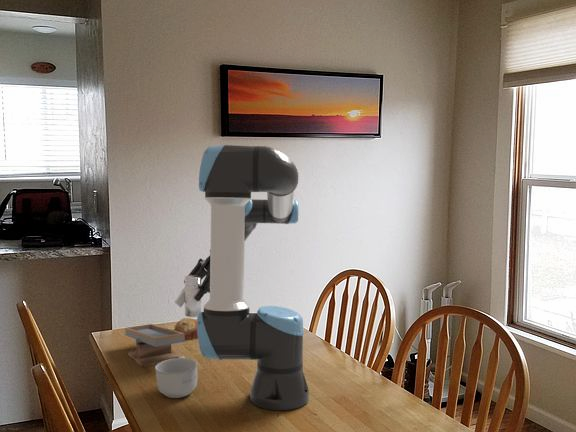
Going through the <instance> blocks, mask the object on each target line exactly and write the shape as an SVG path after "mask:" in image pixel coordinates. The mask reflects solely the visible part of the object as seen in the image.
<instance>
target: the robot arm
mask: <svg viewBox="0 0 576 432" xmlns="http://www.w3.org/2000/svg"><path fill="white" fill-rule="evenodd" d="M199 167H200V168H199V173H198V189H199V191H200V192H202V193H204V199H205V200H206V201H207V202H208V204H209V205H210V249H209V256H207V257H206V258H205V259H202V258H199V259H198V261H197V263H196V264H195V266H194V268H193V269H192V270H191V271H190V273H189V274H188V275H187V276H191V275H196V276H201V281H202V280H203V281H202V282H201V286H199V288H200V289H198V288H197V289H196V291H195V292H194V294H193V295H192V296H191V298H190V299H189V300H188V302H187V303H186V304H185V287H184V288H183V289H182V291H180V293H179V295H178V296H177V298H176V299H175V301H174V303H175V304H176V305H177V306H178V307H179V308H182V307H183V305H184V307H185V306H186V307H187V308H188V309H189V310H190V311H192V310H193V308H194V307H195V305H196V304H197V303H198V301H200V299H201V300H202V298H203V297H204V296H205V294H207V293H209V299H208V301H207V302H206V303H204V305H203V311H201V313H199V314H198V316H197V317H196V320H197V334H198V338H197V342H198V345H199V346H198V347H199V350H200V351H199V352H200V353H201V355H202V357H204V358H206V359H210V360H211V359H212V360H218V361H223V360H245V361H246V360H248V361H249V360H250V361H252V360H253V361H255V360H256V362H257V365H256V368H257V369H256V372H255V375H254V378H253V381H252V385H251V386H250V389H249V390H250V391H249V394H250V395H249V400H250V402H251V403H252V404H253V405H254V406H256V407H258V408H261V409H265V410H270V411H290V410H297V409H299V408H302V407H303V406H305V405H306V404H308V402H309V400H310V391H309V387H308V383H307V380H306V377H305V374H304V369H303V364H304V362H303V361H304V359H303V357H304V355H303V354H304V353H303V352H304V335H305V331H304V320H303V317H302V315H301V314H300V313H299V312H298V311H296V310H293V309H290V308H286V307H283V306H278V305H276V306H275V305H268V306H260V307H259V308H258V309H257V310H256V312H254V313H252V312H250V304H248V303H247V302H246V301H245V299H244V295H245V292H244V291H245V289H244V288H245V287H244V286H245V242H246V240H247V239H248V238H249V236H250V235H251V234H252V232H253V231H254V230H255V229H256V227H257V226H258V224H280V225H281V224H282V225H289V224H291V225H292V224H297V223H298V221H299V201H298V200H296V199H295V200H294V193H295V190H296V188H297V187H298V184H299V172H298V168H297V166H296V165H295V163H294V161H292V159H291V158H290V157H289V156H288V155H286V154H285V153H284V152H281V150H280V151H279V150H278V149H276V148H273V147H271V146H266V145H234V144H233V145H232V144H231V145H230V144H228V145H227V144H221V145H209V146H208V147H206V148H205V149H204V152H203V154H202V158H201V161H200V166H199ZM252 193H266V195H267V199H257V198H256V199H254V198H253V199H252ZM183 283H184V284H185V279H184V280H183Z"/></svg>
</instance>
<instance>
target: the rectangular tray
mask: <svg viewBox="0 0 576 432" xmlns="http://www.w3.org/2000/svg"><path fill="white" fill-rule="evenodd" d="M124 334H125V335H124V336H126V337H129V338H131V339H133V340H135V344H136V343H141V342H144V343H147V344H149V345H152V346H155V347H157V346H163V345H168V344H171V345H174V344H179V343H185V341H186V340H185V335H184V333H181V332H178V331H175V330H174V329H171V328H168V327H163V326H161V325H157V324H154V323H148V324H141V325H136V326H129V327H125V328H124Z"/></svg>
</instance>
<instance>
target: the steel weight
mask: <svg viewBox="0 0 576 432" xmlns="http://www.w3.org/2000/svg"><path fill="white" fill-rule="evenodd" d="M184 280H185V283H184V288H185V303H184V316H185V317H186V318H195V317H196V318H197V317H198V314H199V313H201V312H202V298H201V299H200V301H198V303H197V304H196V305H195V307H194V308H193V310H192V311H190V310H189V309H188V308H187V307H186V306H185V304H186V303H187V302H188V300H189V299H190V298H191V296H192V295H193V294H194V292H195V291H196V289H197V288H198V289H200V288H199V286H201V285H202V280H201V276H196V275H191V276H188V275H185V276H184Z"/></svg>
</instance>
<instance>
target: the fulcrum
mask: <svg viewBox="0 0 576 432" xmlns="http://www.w3.org/2000/svg"><path fill="white" fill-rule="evenodd" d="M135 344H136V345H135V346H136V347H135V348H136V349H135V350H133V351H132V350H131V351H128V352H127V354H128V355H127V356H129V357H130V358H131V359H132V360H133V361H134V362H135V363H137V365H139V366H141V368H144V367H149V366H156V365H157V364H158V363H160V362H162V361H165V360H169V359H174V358H179V357H180V356H181V355H179V354H178V353H177V352H175V351H173V350H172V344H168V345H163V346H157V347H155V346H152V345H149V344H147V343H144V342H141V343H136V342H135Z"/></svg>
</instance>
